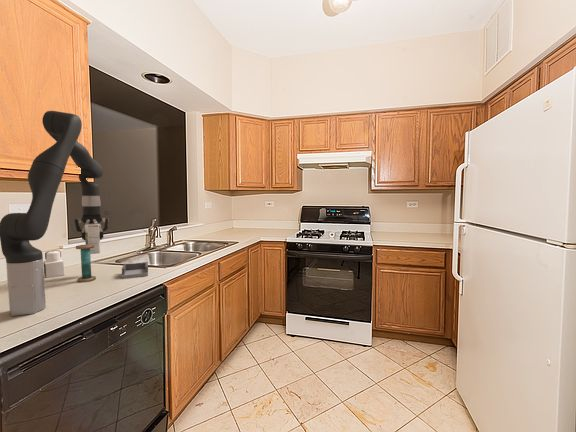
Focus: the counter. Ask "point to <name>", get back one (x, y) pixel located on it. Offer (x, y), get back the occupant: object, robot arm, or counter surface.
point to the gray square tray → (135, 270)
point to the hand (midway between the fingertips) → (93, 239)
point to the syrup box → (93, 237)
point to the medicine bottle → (53, 264)
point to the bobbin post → (86, 263)
